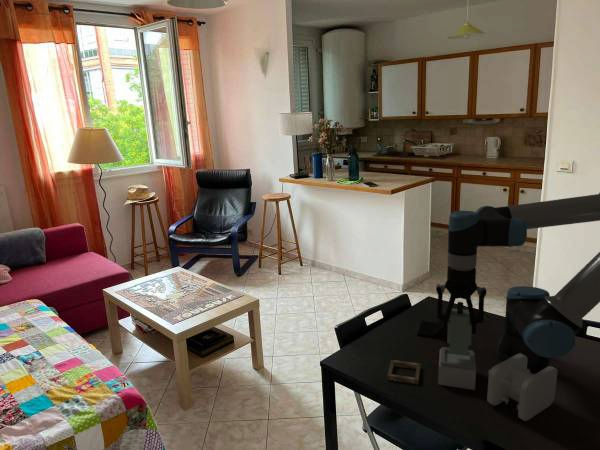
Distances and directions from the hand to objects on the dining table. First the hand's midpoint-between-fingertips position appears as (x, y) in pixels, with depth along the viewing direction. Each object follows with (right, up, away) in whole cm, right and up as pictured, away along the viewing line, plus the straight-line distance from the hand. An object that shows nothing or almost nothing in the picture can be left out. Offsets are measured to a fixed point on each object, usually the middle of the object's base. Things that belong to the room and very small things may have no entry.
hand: (458, 341), depth 130 cm
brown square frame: (-15, -11, +6) cm, 19 cm away
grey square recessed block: (0, -11, +3) cm, 12 cm away
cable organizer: (+13, -15, -10) cm, 22 cm away
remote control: (+18, -2, +40) cm, 44 cm away
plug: (0, -3, +1) cm, 3 cm away
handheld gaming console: (+2, -5, +31) cm, 32 cm away
